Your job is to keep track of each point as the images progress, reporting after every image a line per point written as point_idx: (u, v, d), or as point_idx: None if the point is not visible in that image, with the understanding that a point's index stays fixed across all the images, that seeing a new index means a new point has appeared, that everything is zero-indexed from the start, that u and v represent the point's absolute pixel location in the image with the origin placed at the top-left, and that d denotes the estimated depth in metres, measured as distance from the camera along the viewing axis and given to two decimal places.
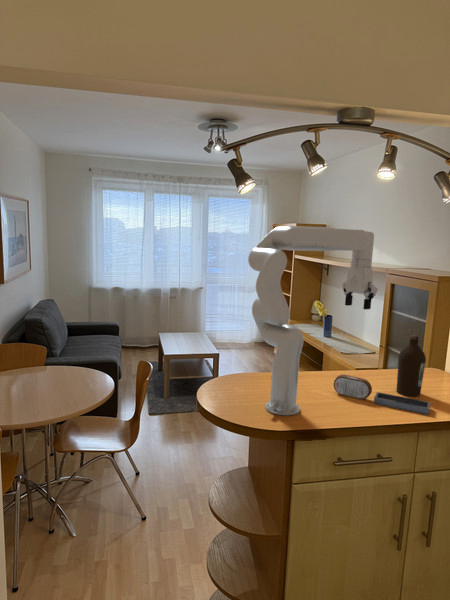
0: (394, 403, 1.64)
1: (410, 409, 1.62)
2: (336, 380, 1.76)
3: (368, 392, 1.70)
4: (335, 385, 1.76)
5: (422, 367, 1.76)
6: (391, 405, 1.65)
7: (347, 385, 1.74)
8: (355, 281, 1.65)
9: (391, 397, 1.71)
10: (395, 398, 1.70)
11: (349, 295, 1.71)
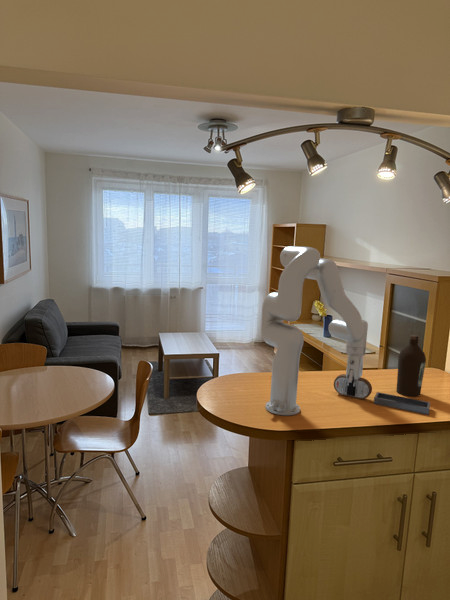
0: (394, 403, 1.64)
1: (410, 409, 1.62)
2: (336, 379, 1.76)
3: (368, 391, 1.70)
4: (335, 385, 1.76)
5: (422, 367, 1.76)
6: (391, 405, 1.65)
7: None
8: (361, 367, 1.72)
9: (391, 397, 1.71)
10: (395, 398, 1.70)
11: None
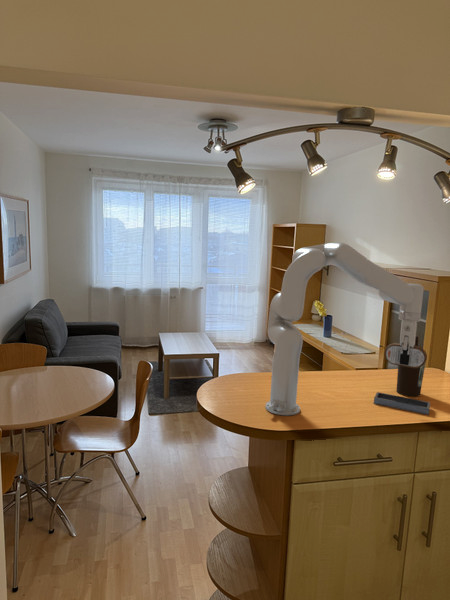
0: (394, 403, 1.64)
1: (410, 409, 1.62)
2: (388, 348, 1.66)
3: (424, 360, 1.60)
4: (386, 354, 1.66)
5: (422, 367, 1.76)
6: (391, 405, 1.65)
7: (399, 354, 1.64)
8: (415, 334, 1.62)
9: (391, 397, 1.71)
10: (395, 398, 1.70)
11: None
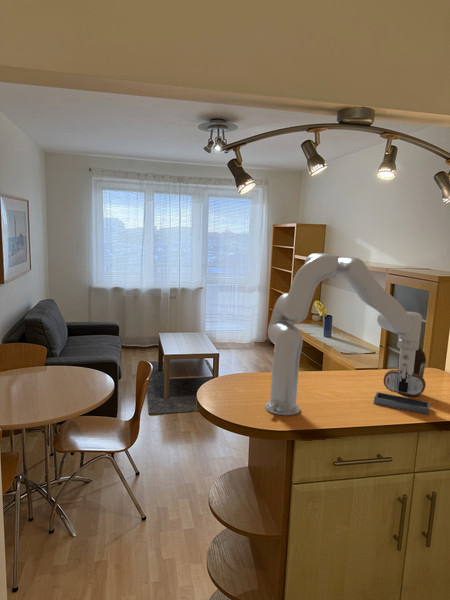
0: (394, 403, 1.64)
1: (410, 409, 1.62)
2: (387, 375, 1.67)
3: (422, 388, 1.62)
4: (385, 381, 1.68)
5: (422, 367, 1.76)
6: (391, 405, 1.65)
7: (398, 381, 1.65)
8: (414, 362, 1.64)
9: (391, 397, 1.71)
10: (395, 398, 1.70)
11: None
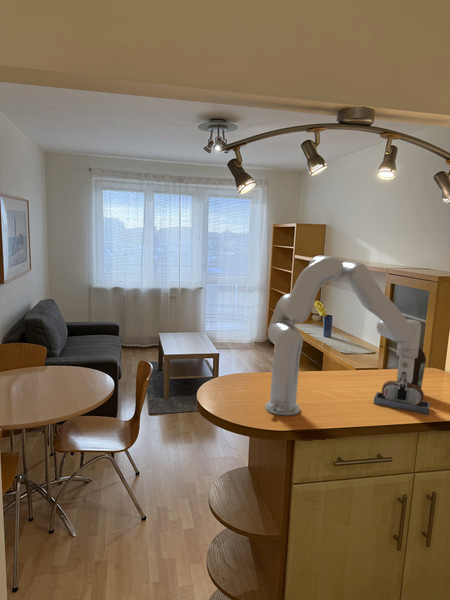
0: (394, 403, 1.64)
1: (410, 409, 1.62)
2: (385, 386, 1.67)
3: (421, 399, 1.62)
4: (384, 392, 1.68)
5: (422, 367, 1.76)
6: (391, 405, 1.65)
7: (397, 392, 1.65)
8: (413, 370, 1.64)
9: None
10: None
11: None
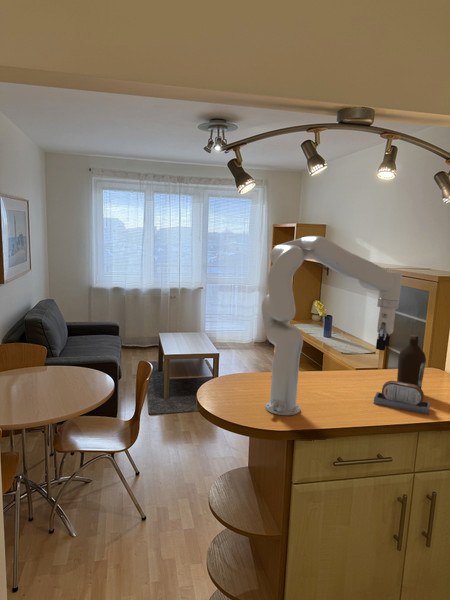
0: (394, 403, 1.64)
1: (410, 409, 1.62)
2: (385, 386, 1.67)
3: (421, 399, 1.62)
4: (384, 392, 1.68)
5: (422, 367, 1.76)
6: (391, 405, 1.65)
7: (397, 392, 1.66)
8: (393, 322, 1.63)
9: None
10: None
11: None
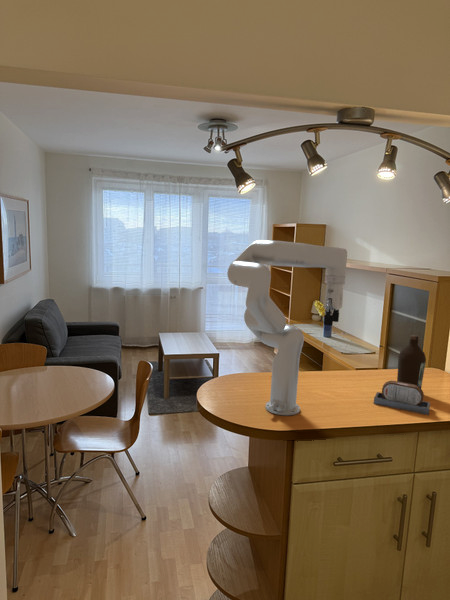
0: (394, 403, 1.64)
1: (410, 409, 1.62)
2: (385, 386, 1.67)
3: (421, 399, 1.62)
4: (384, 392, 1.68)
5: (422, 367, 1.76)
6: (391, 405, 1.65)
7: (397, 392, 1.66)
8: (340, 298, 1.66)
9: None
10: None
11: None
